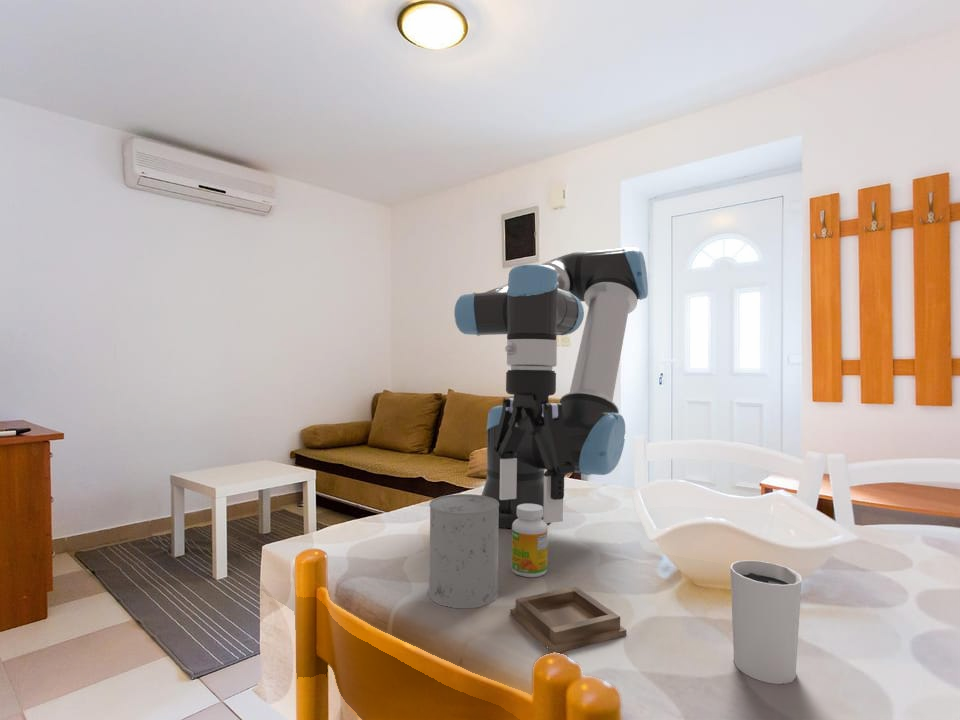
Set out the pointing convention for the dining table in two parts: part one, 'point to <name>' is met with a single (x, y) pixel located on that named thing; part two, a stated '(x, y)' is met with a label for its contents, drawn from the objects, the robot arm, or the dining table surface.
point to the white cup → (765, 620)
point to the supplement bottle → (529, 541)
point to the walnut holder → (567, 619)
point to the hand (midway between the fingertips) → (528, 509)
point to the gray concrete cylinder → (464, 550)
